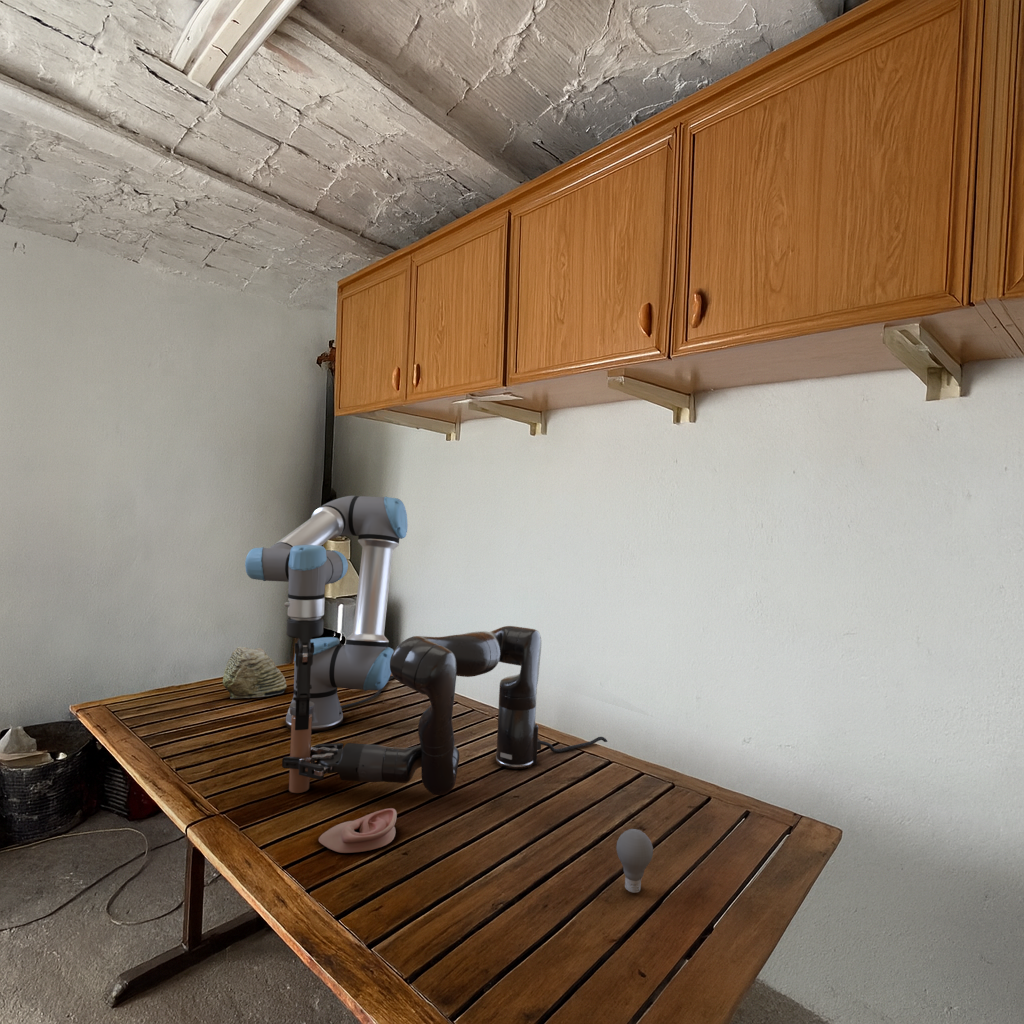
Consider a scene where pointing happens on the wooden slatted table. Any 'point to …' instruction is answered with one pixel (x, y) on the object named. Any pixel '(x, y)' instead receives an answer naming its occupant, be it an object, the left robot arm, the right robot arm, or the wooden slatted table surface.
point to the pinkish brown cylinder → (299, 755)
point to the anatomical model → (362, 833)
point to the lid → (293, 708)
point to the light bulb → (634, 857)
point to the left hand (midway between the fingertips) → (301, 724)
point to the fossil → (252, 674)
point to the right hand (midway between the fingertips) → (287, 757)
